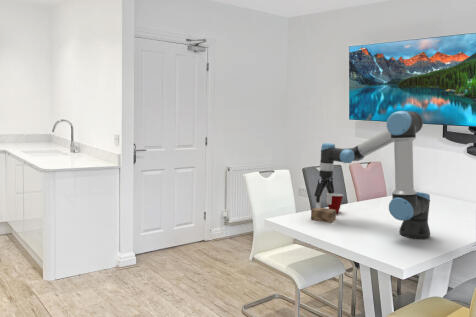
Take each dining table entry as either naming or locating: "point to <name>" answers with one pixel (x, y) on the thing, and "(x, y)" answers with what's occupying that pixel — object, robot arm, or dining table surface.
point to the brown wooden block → (323, 214)
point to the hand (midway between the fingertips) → (323, 206)
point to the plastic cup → (336, 202)
